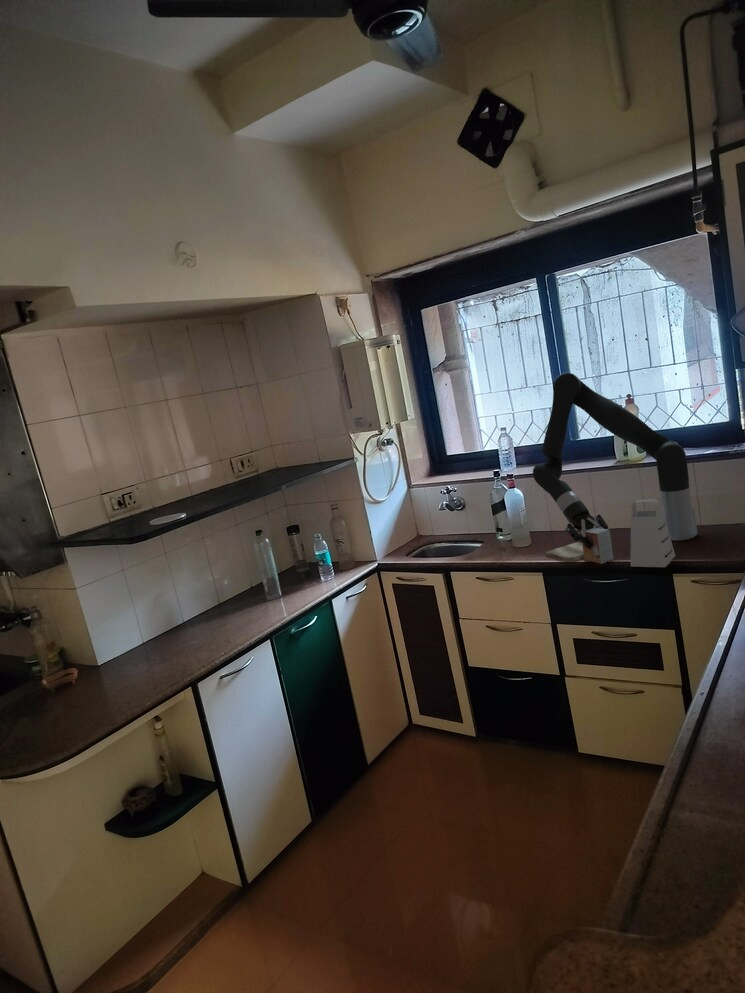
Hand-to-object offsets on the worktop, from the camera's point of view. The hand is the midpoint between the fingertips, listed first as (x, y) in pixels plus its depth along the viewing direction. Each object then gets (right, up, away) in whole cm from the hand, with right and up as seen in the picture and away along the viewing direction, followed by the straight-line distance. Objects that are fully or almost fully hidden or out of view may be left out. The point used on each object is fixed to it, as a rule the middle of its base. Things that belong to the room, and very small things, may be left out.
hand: (599, 544), depth 221 cm
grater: (+14, -5, -10) cm, 17 cm away
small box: (+1, -6, +2) cm, 6 cm away
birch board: (-4, -4, +14) cm, 16 cm away
